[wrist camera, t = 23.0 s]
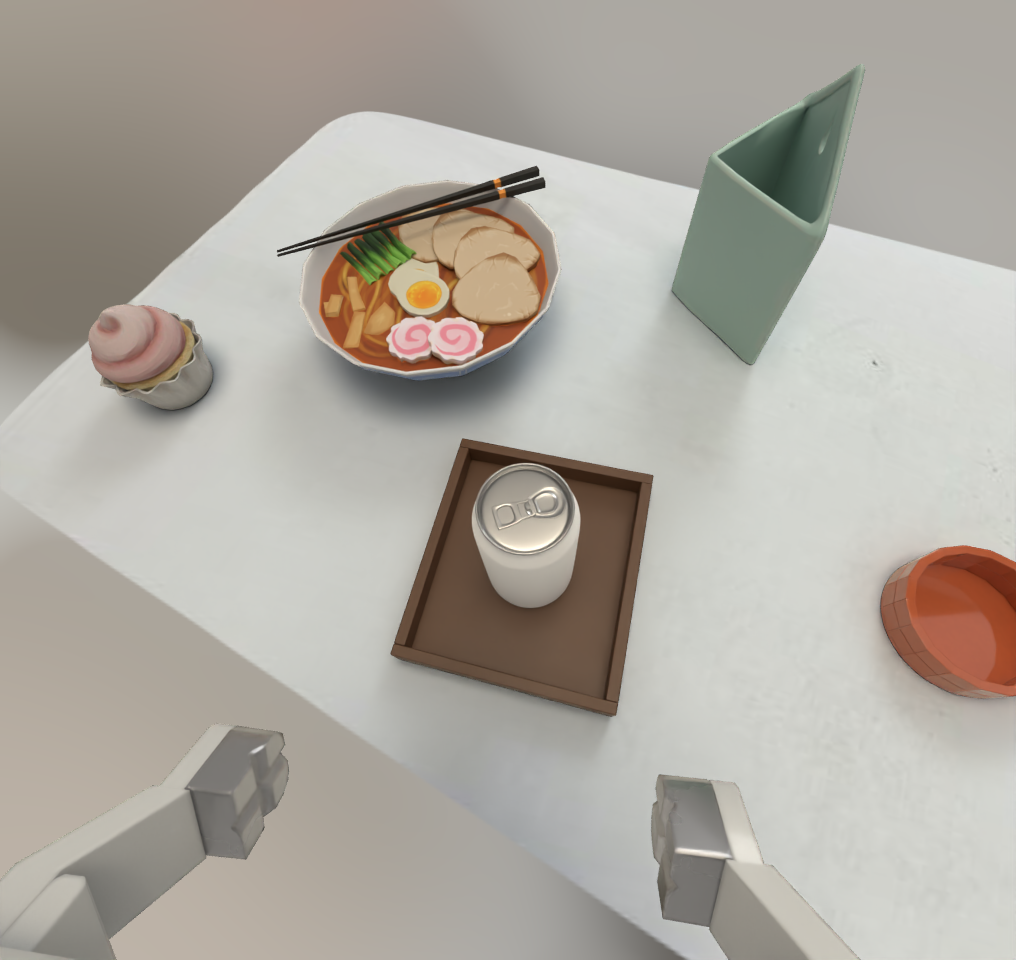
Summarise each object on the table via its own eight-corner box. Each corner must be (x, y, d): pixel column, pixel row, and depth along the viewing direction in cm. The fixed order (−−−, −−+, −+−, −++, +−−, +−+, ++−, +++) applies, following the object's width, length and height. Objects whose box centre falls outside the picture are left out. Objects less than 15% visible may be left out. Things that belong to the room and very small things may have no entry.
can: (585, 594, 39) (600, 542, 28) (501, 621, 39) (484, 578, 28) (556, 517, 42) (560, 442, 31) (478, 541, 41) (454, 474, 31)
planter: (676, 232, 55) (738, -4, 37) (755, 238, 54) (857, -2, 36) (665, 355, 49) (733, 138, 31) (754, 365, 47) (879, 146, 30)
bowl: (1043, 715, 34) (1086, 714, 32) (882, 676, 36) (909, 672, 33) (1021, 575, 38) (1058, 563, 35) (877, 546, 40) (901, 532, 37)
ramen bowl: (338, 459, 46) (298, 407, 39) (305, 279, 56) (268, 210, 48) (605, 380, 48) (616, 316, 40) (528, 219, 58) (525, 144, 50)
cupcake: (115, 417, 50) (19, 347, 41) (164, 340, 53) (86, 261, 44) (201, 433, 48) (122, 365, 39) (246, 353, 52) (183, 274, 43)
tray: (611, 716, 36) (616, 716, 34) (398, 659, 38) (389, 654, 36) (647, 488, 43) (653, 475, 41) (466, 452, 45) (462, 438, 43)
